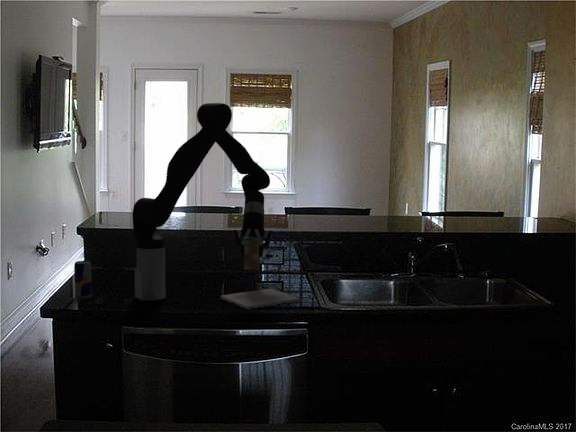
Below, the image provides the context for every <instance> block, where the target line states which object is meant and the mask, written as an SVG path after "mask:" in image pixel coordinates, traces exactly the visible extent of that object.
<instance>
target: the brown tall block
mask: <svg viewBox="0 0 576 432" xmlns="http://www.w3.org/2000/svg"><path fill="white" fill-rule="evenodd" d="M259 239H260V237H259V236H245V243H244V257H243V259H244V260H243V261H244V262H243V264H244V265H243V270H245V271H259V270H260V258H259V246H260V244H259Z"/></svg>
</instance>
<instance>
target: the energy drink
mask: <svg viewBox="0 0 576 432" xmlns="http://www.w3.org/2000/svg"><path fill="white" fill-rule="evenodd" d="M73 268H74V270H73V272H74V297H75V299H76V300H89V299H92V297H93V294H92V290H93V289H92V288H93V287H92V286H93V285H92V263H91V261H88V260H76V261H75V262H74V265H73Z"/></svg>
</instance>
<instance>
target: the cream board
mask: <svg viewBox="0 0 576 432" xmlns="http://www.w3.org/2000/svg"><path fill="white" fill-rule="evenodd" d="M220 299H221V300H224V301H225V300H226V302H228V303H230V302H231V303H230V304H232V303H234V304H233V305H235V304H236V305H235V306H237V305H238V306H237V307H239V306H240V307H239V308H242V307H243V308H242V309H244V308H245V310H246V309H248V310H252V309H251V308H255V309H259V308H258V307H261V308H265V307H264V306H267V307H269V306H268V305H274V304H280V305H283V304H282V303H286V304H291V303H298V302H300V298H299V297H295V296H293V295H292V294H289V293H285V292H283V291H279V290H277V289H275V288H272V287H271V288H265V289H258V290H250V291H244V292H237V293H236V292H235V293H230V294H229V293H228V294H222V295H220ZM274 306H275V305H274Z"/></svg>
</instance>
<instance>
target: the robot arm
mask: <svg viewBox="0 0 576 432" xmlns="http://www.w3.org/2000/svg"><path fill="white" fill-rule="evenodd" d="M232 117H233V112H232V109H231V107H230V105H228V104H227V103H222V102H207V103H203V104H201V105H200V106H199V107H198V109H197V112H196V119H197V122H198V124H199V125H200V127H201V129H200V130H199V131H198V132H196V134H195V135H193V136H191V137H190V138H189V139H187V140H186V141H185V142H183V144H181V145H180V146H179V147H178V149H177V150H176V151H175V153H174V154H173V156H172V157H171V159H170V160H169V162H168V164H167V170H166V176H165V177H166V180H165V183H164V185H163V186H162V189H161V190H160V192H159V193H158V195H156V197H155V198H150V197H141V198H139V199H137V200H136V201H135V203H134V205H133V207H132V227H133V230H132V231H133V238H134V241H135V243H136V268H135V269H134V297H135V298H136V299H138V300H139V301H142V302H144V301H147V302H149V301H160V300H163V299H165V298H166V247H165V246H166V245H165V244H166V241H165V237H163V236H162V235H161V234H160V232H158V229H157V228H160V227H162V226H164V225H165V224H167V221H168V220H169V219H170V217H171V215H172V213H173V211H174V209H175V207H176V205H177V203H178V201H179V199H180V197H181V195H182V194H183V192H184V191H185V189H186V187H187V186H188V184H189V183H190V181H191V180H192V178H193V177H194V176H195V174H196V172H197V171H198V169H199V168H200V166H201V164H202V163H203V161H204V160H205V158H206V156H207V155H208V154H209V152H210V151H211V149H212V148H213V146H214V145H215V143H216V144H217V145H218V147H219V148H221V150H222V151H223V152H224V154H225V155H226V156H227V158H228V159H229V161H230V162H231V164H232V165H233V166H234V168H235V169H236V171H237V172H238V173H239V174H240V175H244V176H243V177H242V178H241V181H240V184H241V187H242V191H243V195H244V208H243V213H242V214H243V215H242V228H241V230H237V229H234V230H233V236H234V241H235V246H236V248H240V256H242V258H244V243H245V236H259V237H260V239H259V244H260V246H259V259H261V258H262V257H263V255H264V249H268V248H269V247H270V245H271V240H272V238H273V231H272V230H269V231H266V229H265V195H264V193H263V192H262V190H264V189H265V190H266V189H267V188H268V187H269V186H270V184H271V178H270V175H269V174H268V172H267V171H266V170H265V169H264V168H263V167H262V166H260V165H259V164H258V163H257V162H256V161H255V160H254V159H253V158H252V156H251V155H250V153H249V151H248V150H247V148H246V147H245V146H244V145H243V144H242V143H241V142H240V141H238V140H237V139H236V138H235V137H234V136H232V134H230V133H229V131H227V128H228V127H229V125H230V123H231V122H232ZM241 236H242V241H240V237H241ZM263 236H265V242H263V239H262V238H263Z"/></svg>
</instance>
